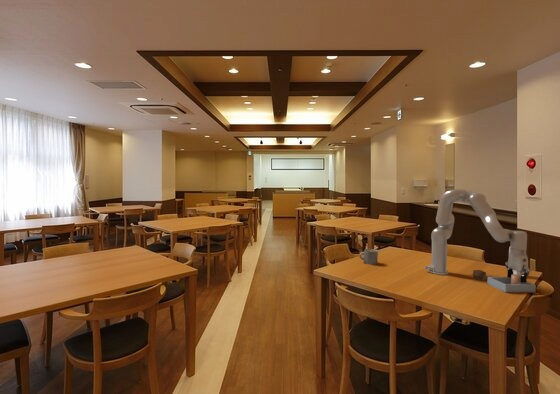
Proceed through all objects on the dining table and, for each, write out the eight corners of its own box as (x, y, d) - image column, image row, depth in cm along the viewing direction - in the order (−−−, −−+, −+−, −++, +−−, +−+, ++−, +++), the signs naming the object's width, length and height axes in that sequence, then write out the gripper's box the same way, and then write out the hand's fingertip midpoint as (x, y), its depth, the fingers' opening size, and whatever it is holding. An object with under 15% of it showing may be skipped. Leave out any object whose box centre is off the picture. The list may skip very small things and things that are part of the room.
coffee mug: (377, 261, 236) (377, 249, 235) (377, 265, 227) (377, 252, 226) (359, 260, 240) (360, 248, 240) (359, 263, 231) (359, 250, 230)
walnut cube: (478, 279, 195) (478, 272, 195) (472, 277, 200) (473, 270, 200) (485, 279, 195) (486, 272, 195) (480, 277, 200) (480, 270, 200)
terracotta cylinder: (523, 288, 178) (524, 276, 177) (514, 288, 178) (515, 276, 177) (516, 285, 183) (517, 274, 182) (508, 285, 183) (509, 274, 182)
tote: (505, 292, 172) (505, 284, 172) (487, 283, 187) (487, 276, 187) (535, 292, 173) (535, 285, 172) (515, 284, 187) (515, 277, 187)
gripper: (536, 255, 170) (535, 284, 171) (512, 248, 187) (511, 275, 188) (523, 255, 170) (522, 284, 171) (500, 248, 187) (499, 275, 188)
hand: (516, 279), depth 180 cm, fingers open, 9 cm apart
